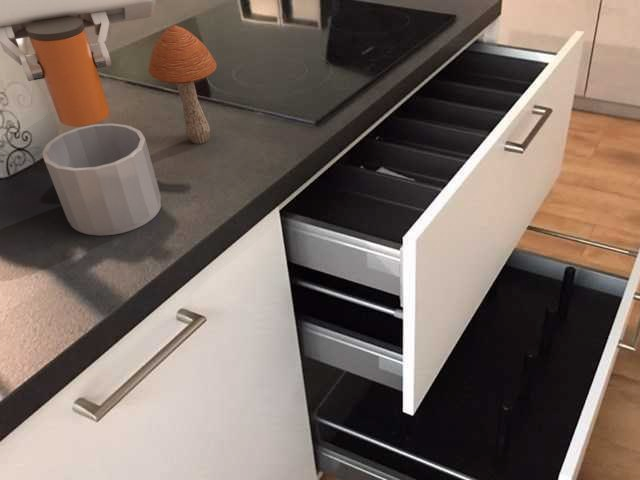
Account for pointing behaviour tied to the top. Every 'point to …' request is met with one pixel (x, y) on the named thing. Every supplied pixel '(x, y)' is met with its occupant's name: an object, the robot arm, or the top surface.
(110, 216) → the faceted grey planter pot
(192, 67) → the mushroom
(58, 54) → the tube
